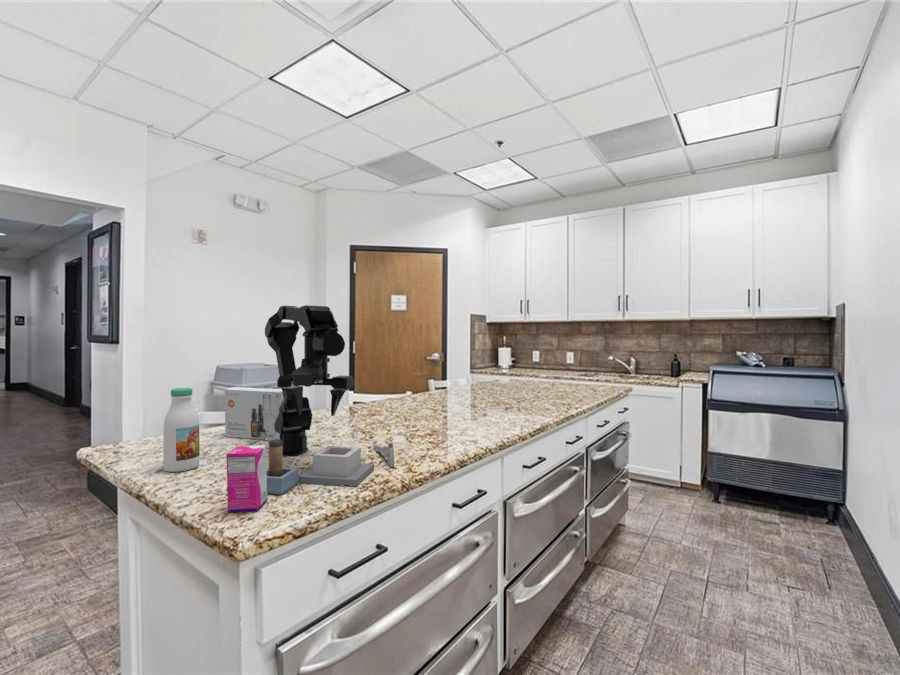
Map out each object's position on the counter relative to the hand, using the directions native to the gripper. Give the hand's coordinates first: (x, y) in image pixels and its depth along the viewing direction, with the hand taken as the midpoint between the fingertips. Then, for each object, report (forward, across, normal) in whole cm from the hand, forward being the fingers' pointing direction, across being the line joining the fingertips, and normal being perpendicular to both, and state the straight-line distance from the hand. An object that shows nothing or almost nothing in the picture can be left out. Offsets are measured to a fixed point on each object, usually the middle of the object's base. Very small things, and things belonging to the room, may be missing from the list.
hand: (315, 415), depth 112 cm
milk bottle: (+13, -32, -8) cm, 36 cm away
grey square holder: (+13, +9, -7) cm, 17 cm away
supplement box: (+13, -1, -27) cm, 30 cm away
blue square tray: (+13, -1, -17) cm, 21 cm away
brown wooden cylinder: (+12, -1, -17) cm, 21 cm away
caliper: (+14, +15, +10) cm, 22 cm away
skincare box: (+13, -32, +24) cm, 42 cm away
